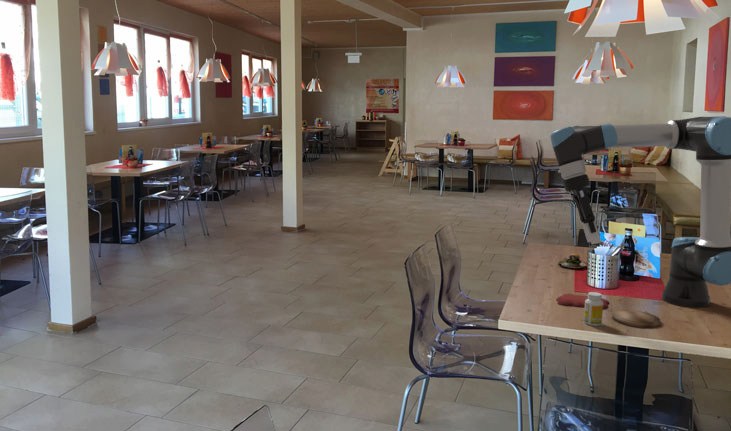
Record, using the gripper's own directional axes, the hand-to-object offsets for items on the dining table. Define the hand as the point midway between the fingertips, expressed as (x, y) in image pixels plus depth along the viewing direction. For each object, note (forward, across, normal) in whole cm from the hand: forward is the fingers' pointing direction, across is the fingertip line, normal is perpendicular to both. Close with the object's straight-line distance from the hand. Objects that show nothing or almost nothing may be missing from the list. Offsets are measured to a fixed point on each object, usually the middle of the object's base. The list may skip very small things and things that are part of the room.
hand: (594, 242), depth 192 cm
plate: (+28, -9, +6) cm, 30 cm away
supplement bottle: (+25, -2, -7) cm, 26 cm away
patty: (+22, -25, -8) cm, 34 cm away
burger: (+14, -80, -5) cm, 81 cm away
